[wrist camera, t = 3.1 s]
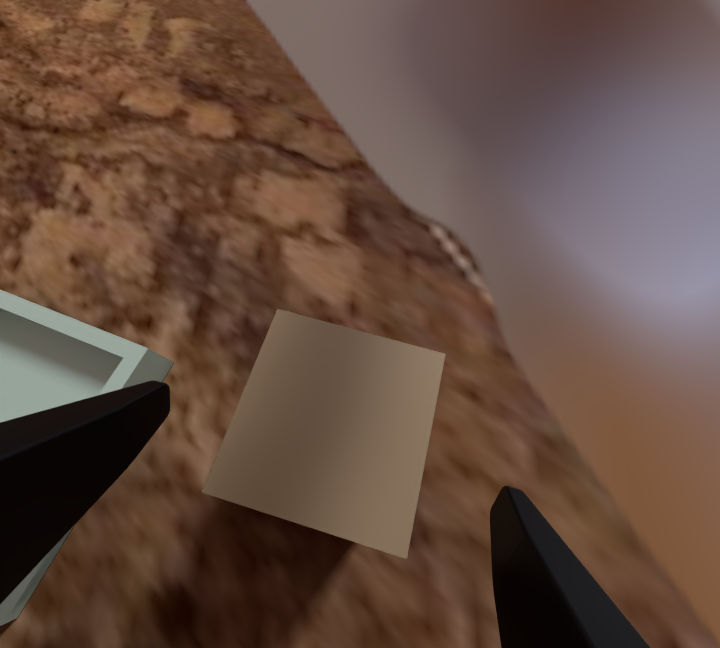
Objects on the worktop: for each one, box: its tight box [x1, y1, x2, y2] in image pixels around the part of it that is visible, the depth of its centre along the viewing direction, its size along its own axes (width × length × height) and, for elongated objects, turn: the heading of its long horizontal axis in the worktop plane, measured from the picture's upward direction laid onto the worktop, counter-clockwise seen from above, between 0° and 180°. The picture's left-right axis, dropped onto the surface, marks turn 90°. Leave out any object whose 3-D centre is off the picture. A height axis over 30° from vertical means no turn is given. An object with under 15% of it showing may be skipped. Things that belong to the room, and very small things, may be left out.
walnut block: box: [202, 309, 445, 559], centre depth 13 cm, size 5×5×9 cm
